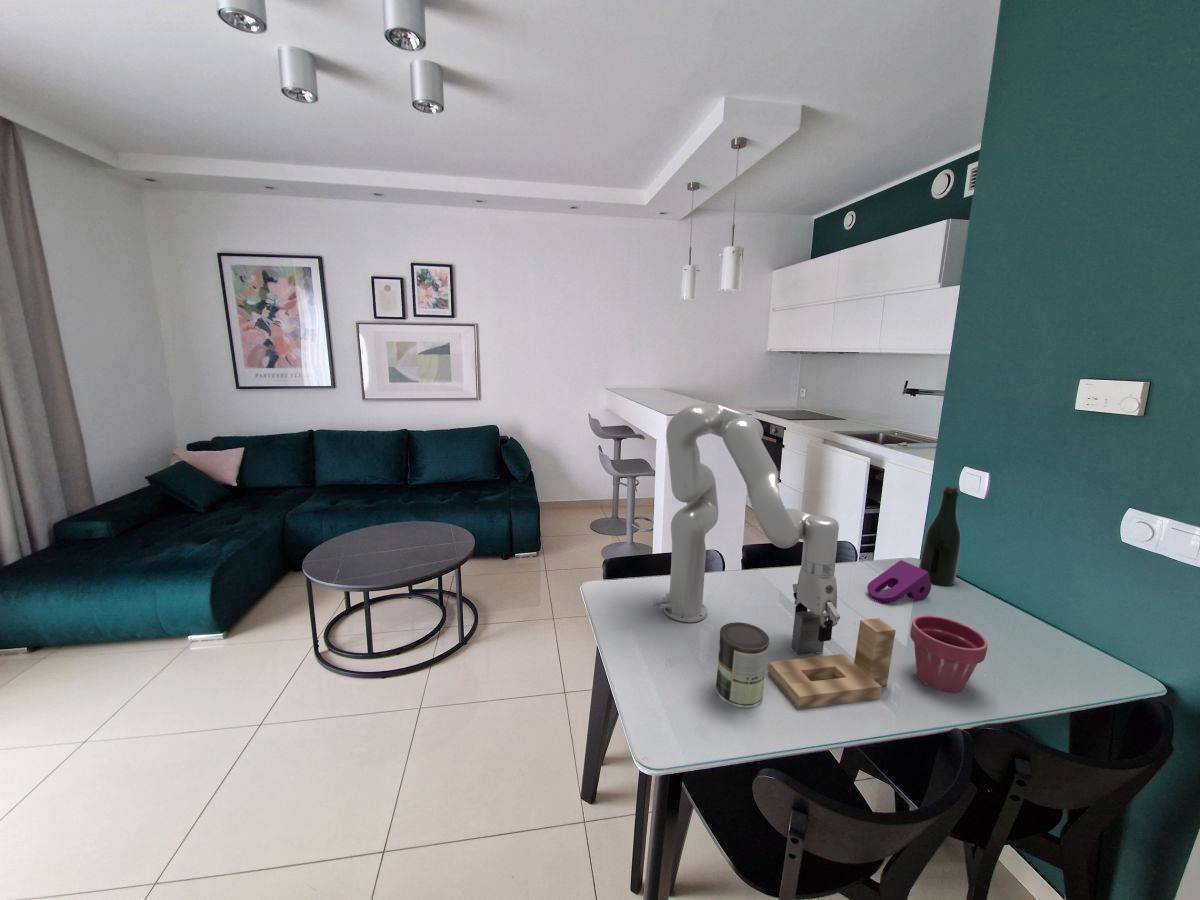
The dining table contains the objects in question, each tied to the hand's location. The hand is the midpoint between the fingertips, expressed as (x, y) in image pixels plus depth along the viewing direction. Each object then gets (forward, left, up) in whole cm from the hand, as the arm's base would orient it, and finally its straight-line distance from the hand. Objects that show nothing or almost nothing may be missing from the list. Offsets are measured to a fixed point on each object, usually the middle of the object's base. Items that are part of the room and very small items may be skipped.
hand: (812, 629), depth 124 cm
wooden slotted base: (-3, -13, -6) cm, 14 cm away
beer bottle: (+70, +30, -6) cm, 76 cm away
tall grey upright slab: (0, 0, -6) cm, 6 cm away
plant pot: (+24, -16, -6) cm, 29 cm away
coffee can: (-25, -12, -6) cm, 29 cm away
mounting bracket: (+45, +22, -6) cm, 51 cm away
